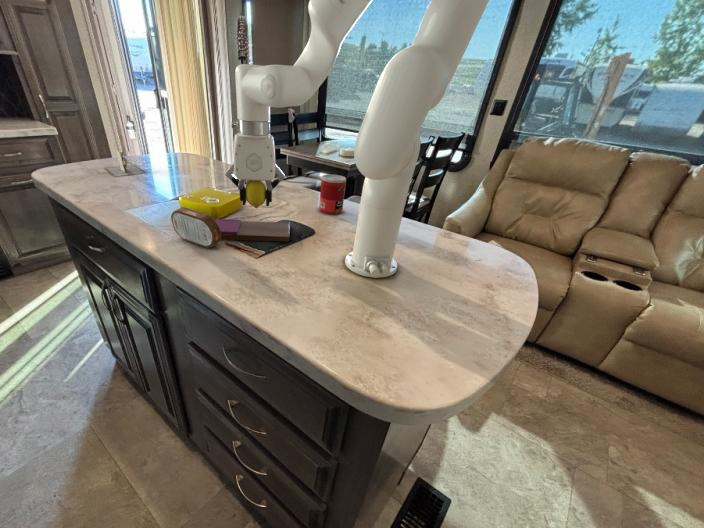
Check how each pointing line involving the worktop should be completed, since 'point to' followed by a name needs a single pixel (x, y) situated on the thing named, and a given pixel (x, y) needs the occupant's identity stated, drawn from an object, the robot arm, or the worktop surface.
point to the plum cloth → (228, 225)
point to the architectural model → (124, 167)
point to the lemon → (255, 193)
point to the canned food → (332, 194)
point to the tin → (196, 227)
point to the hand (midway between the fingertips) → (256, 203)
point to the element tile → (212, 202)
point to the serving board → (260, 232)
